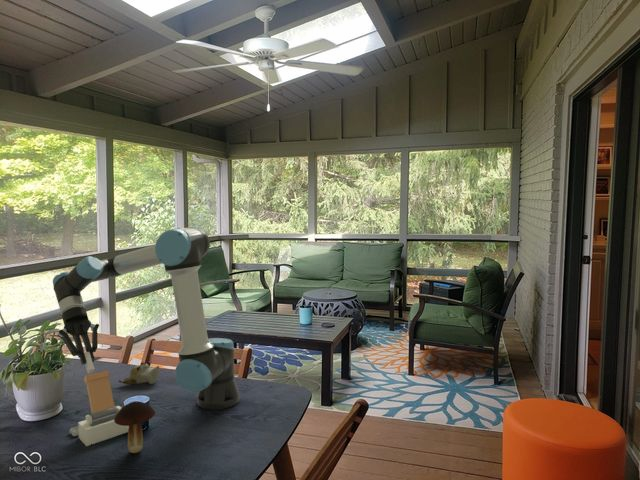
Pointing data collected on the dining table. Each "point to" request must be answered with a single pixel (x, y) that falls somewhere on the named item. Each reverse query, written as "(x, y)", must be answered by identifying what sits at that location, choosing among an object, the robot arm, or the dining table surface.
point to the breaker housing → (98, 429)
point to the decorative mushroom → (134, 422)
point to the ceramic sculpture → (142, 374)
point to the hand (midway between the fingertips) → (91, 371)
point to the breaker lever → (100, 394)
